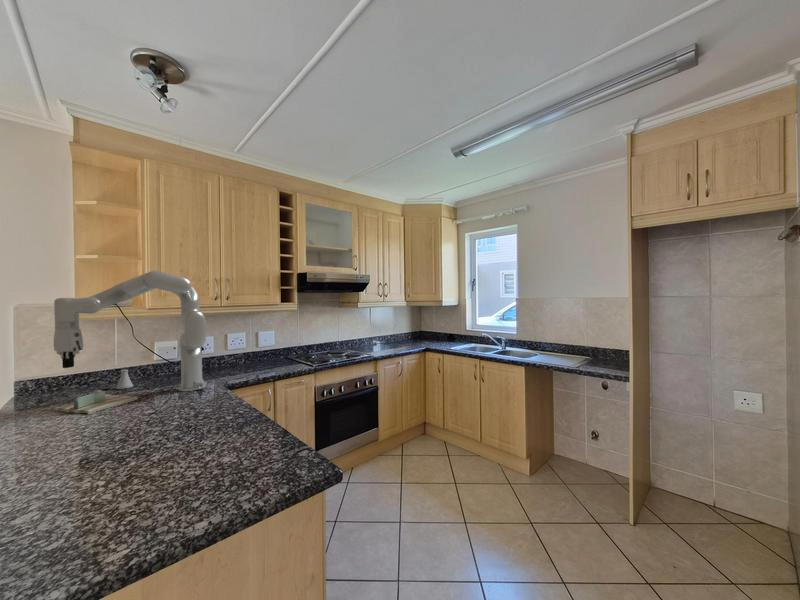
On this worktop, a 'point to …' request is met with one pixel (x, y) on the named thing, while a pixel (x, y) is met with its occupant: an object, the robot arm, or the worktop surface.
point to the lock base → (99, 404)
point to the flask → (124, 380)
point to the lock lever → (89, 399)
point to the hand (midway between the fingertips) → (68, 367)
